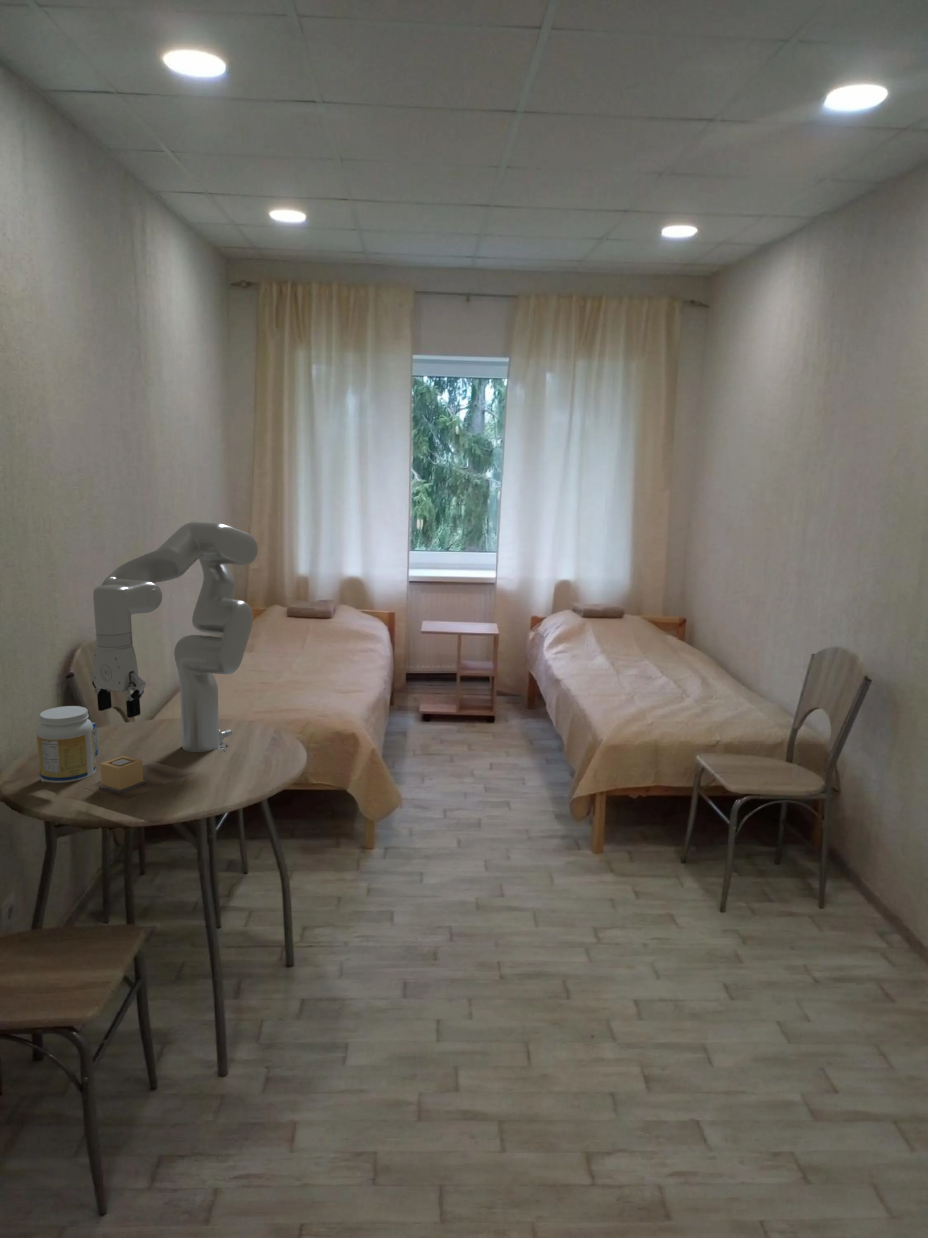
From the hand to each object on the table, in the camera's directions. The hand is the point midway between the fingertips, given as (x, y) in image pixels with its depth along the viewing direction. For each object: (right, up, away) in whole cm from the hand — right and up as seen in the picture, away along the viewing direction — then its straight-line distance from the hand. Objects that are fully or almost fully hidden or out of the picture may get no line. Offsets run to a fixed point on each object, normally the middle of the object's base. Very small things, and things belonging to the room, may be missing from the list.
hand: (119, 712), depth 189 cm
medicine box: (-20, -15, +25) cm, 35 cm away
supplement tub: (-17, -18, +11) cm, 27 cm away
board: (+2, -18, +7) cm, 20 cm away
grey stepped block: (0, -18, +3) cm, 18 cm away
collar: (0, -17, +3) cm, 17 cm away
